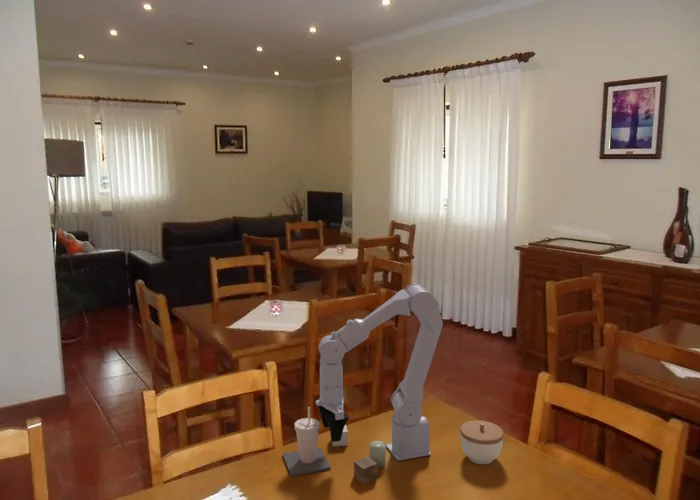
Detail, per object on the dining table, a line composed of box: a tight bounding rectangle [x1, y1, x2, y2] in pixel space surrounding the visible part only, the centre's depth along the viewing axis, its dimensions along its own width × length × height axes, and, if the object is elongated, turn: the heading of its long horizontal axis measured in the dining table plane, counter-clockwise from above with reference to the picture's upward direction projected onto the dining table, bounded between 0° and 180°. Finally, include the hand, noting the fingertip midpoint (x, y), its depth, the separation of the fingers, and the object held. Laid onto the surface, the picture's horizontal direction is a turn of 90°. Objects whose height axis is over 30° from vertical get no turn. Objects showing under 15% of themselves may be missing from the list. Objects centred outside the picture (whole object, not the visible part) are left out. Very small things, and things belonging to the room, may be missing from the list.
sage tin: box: [369, 440, 387, 469], centre depth 140 cm, size 4×4×5 cm
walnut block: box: [353, 456, 378, 485], centre depth 134 cm, size 4×4×4 cm
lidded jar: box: [459, 419, 505, 465], centre depth 142 cm, size 11×11×9 cm
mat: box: [282, 446, 332, 477], centre depth 141 cm, size 10×10×1 cm
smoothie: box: [294, 406, 321, 463], centre depth 140 cm, size 6×6×14 cm
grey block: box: [331, 424, 349, 447], centre depth 151 cm, size 4×4×4 cm
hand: (331, 433), depth 143 cm, fingers open, 7 cm apart
